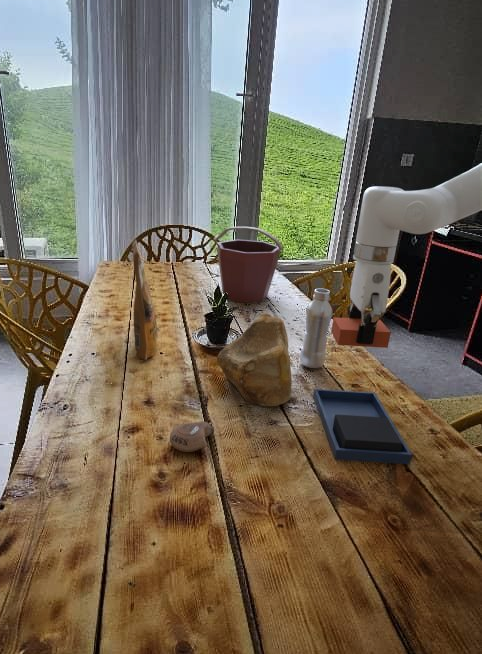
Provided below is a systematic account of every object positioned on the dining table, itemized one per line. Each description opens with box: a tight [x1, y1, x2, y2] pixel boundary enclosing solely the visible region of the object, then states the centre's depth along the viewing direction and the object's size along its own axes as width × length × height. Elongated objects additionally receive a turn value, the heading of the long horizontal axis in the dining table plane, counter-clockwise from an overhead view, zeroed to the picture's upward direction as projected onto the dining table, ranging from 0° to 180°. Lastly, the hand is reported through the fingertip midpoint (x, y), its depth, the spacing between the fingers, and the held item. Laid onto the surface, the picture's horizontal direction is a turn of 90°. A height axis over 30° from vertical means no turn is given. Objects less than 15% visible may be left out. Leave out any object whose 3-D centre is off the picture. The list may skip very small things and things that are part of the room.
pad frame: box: [312, 388, 413, 465], centre depth 88 cm, size 13×21×2 cm, turn 177°
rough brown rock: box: [216, 312, 292, 407], centre depth 100 cm, size 23×17×15 cm
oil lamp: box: [169, 420, 215, 453], centre depth 82 cm, size 9×4×8 cm
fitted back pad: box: [333, 414, 402, 452], centre depth 83 cm, size 10×8×4 cm
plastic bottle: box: [299, 288, 333, 369], centre depth 110 cm, size 6×7×20 cm
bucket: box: [213, 226, 284, 304], centre depth 160 cm, size 24×22×25 cm
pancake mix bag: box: [131, 239, 158, 361], centre depth 114 cm, size 7×19×28 cm, turn 2°
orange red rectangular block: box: [331, 316, 392, 349], centre depth 93 cm, size 10×7×4 cm
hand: (359, 335), depth 93 cm, fingers closed on orange red rectangular block, 7 cm apart
